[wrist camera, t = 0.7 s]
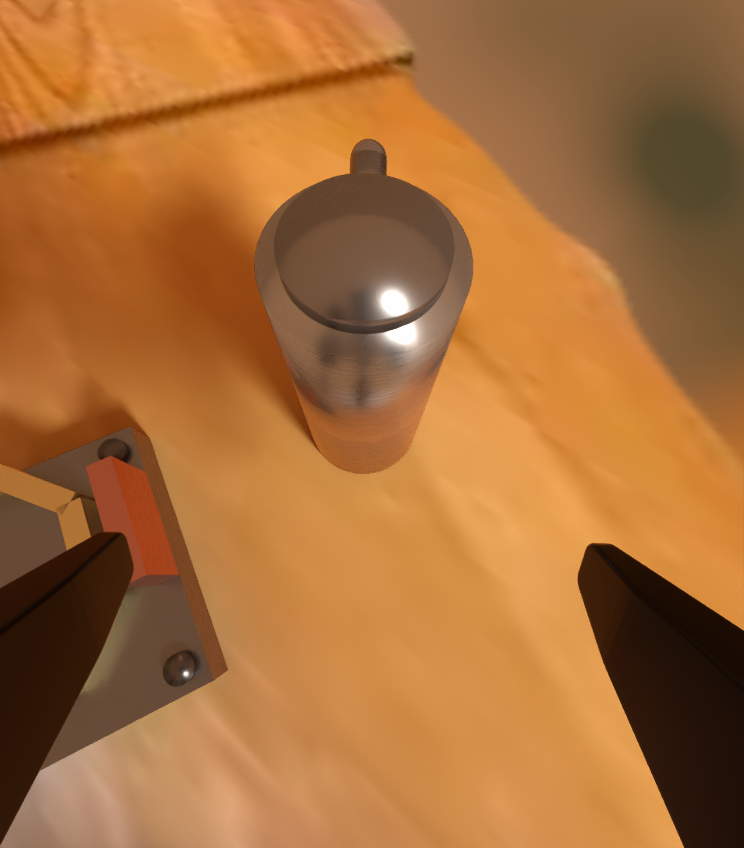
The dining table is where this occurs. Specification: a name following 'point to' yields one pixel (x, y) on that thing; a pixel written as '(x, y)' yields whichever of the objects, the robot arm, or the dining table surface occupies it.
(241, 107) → the dining table surface
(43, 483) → the grey base with ring
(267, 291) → the spout can
